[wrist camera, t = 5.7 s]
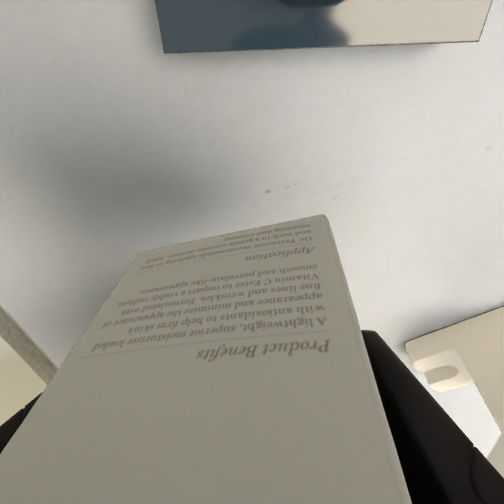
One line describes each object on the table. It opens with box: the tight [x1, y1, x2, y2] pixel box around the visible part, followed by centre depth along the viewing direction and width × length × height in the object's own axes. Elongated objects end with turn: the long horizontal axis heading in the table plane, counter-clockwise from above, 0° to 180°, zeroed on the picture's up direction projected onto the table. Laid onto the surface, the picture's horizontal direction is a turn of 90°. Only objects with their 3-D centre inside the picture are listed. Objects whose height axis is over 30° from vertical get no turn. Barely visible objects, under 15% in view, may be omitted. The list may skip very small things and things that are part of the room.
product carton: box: [0, 215, 412, 504], centre depth 7 cm, size 6×6×7 cm
